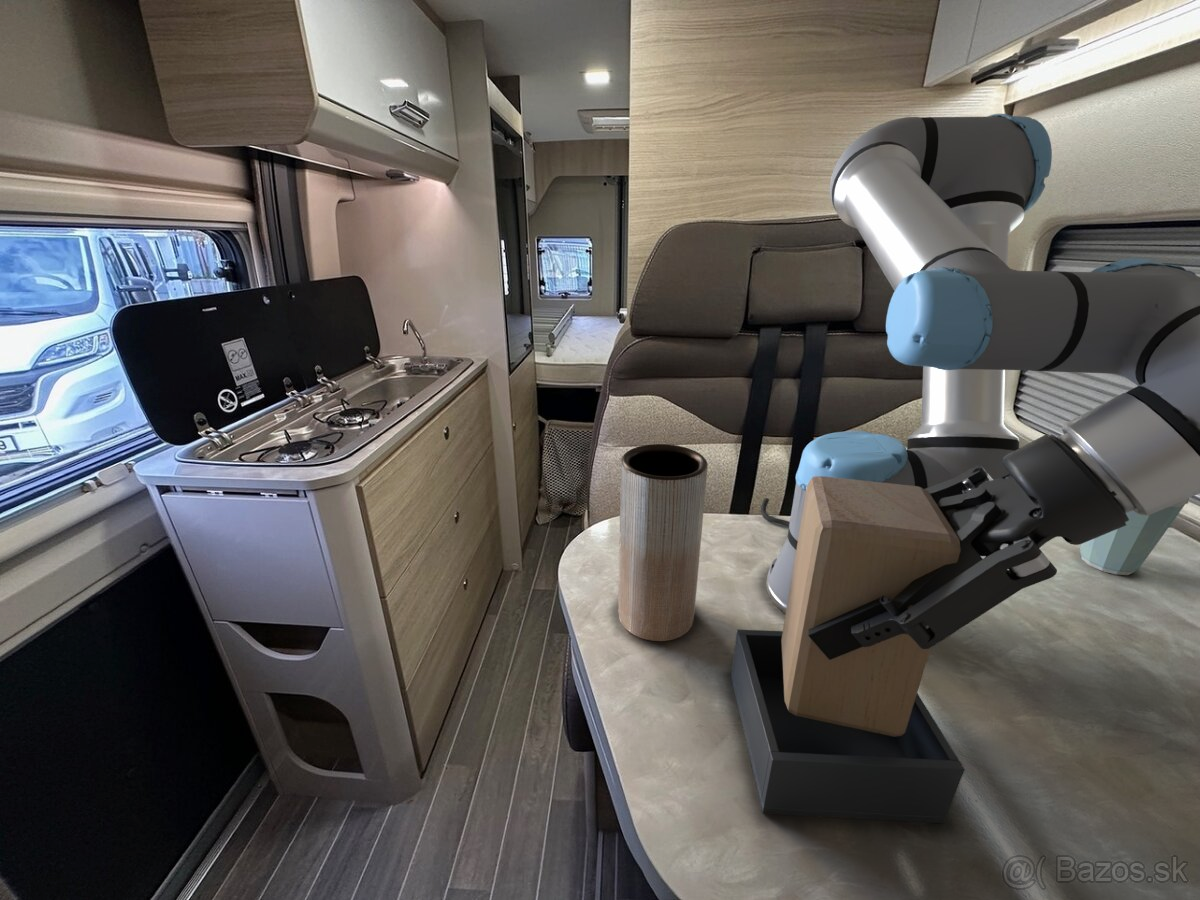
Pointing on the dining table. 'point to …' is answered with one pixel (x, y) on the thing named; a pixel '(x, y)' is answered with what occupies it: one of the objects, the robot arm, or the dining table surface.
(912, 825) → the dining table surface
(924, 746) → the tote
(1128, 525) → the disposable coffee cup
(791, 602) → the wooden block
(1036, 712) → the dining table surface
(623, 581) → the planter
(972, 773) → the dining table surface
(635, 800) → the dining table surface
